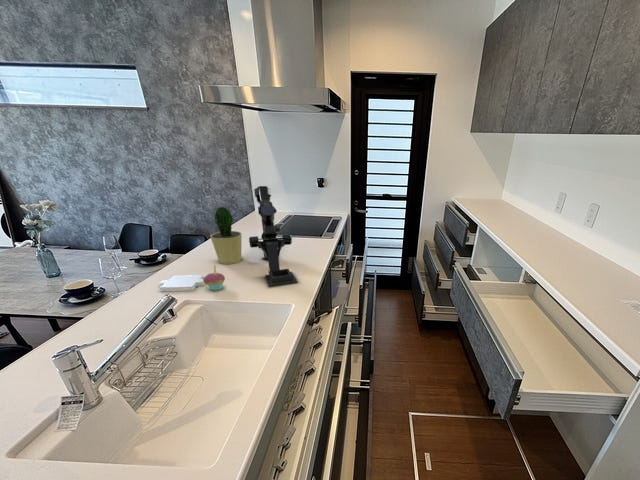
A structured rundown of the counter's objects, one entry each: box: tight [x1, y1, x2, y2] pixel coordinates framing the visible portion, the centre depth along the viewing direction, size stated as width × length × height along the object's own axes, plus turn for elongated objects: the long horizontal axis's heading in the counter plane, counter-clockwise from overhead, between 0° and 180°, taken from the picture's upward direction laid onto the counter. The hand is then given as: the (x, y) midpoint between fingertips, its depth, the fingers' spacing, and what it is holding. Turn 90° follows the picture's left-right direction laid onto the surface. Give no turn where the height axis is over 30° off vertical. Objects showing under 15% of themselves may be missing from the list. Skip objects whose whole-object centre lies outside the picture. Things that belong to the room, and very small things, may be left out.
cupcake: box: [203, 264, 226, 291], centre depth 133 cm, size 9×8×12 cm
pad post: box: [266, 241, 281, 271], centre depth 140 cm, size 4×4×13 cm
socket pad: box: [264, 268, 298, 288], centre depth 145 cm, size 13×13×4 cm
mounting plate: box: [159, 274, 206, 292], centre depth 137 cm, size 18×13×2 cm
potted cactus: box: [209, 206, 243, 265], centre depth 162 cm, size 15×15×30 cm
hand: (273, 257), depth 138 cm, fingers closed on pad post, 4 cm apart
